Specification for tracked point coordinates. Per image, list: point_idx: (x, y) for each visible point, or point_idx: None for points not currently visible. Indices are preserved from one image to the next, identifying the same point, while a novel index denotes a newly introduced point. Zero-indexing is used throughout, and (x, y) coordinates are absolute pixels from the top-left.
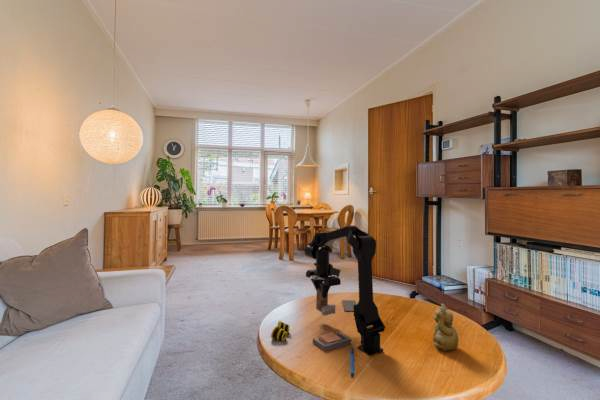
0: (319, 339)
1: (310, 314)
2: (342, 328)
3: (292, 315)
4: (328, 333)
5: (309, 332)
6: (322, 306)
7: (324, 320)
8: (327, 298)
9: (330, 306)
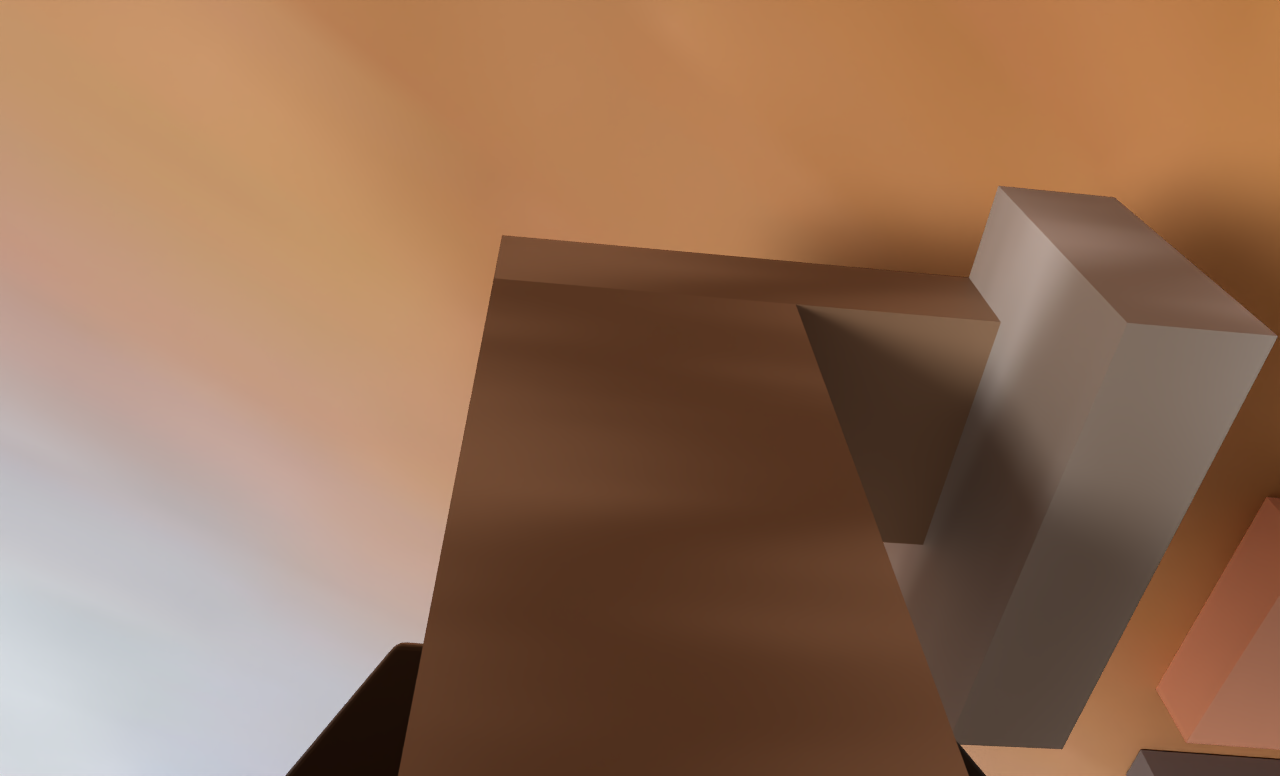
0: (1168, 697)
1: (104, 167)
2: (1260, 93)
3: (28, 509)
4: (1272, 612)
5: None
6: (983, 742)
7: (627, 127)
8: (875, 543)
9: (1158, 531)
